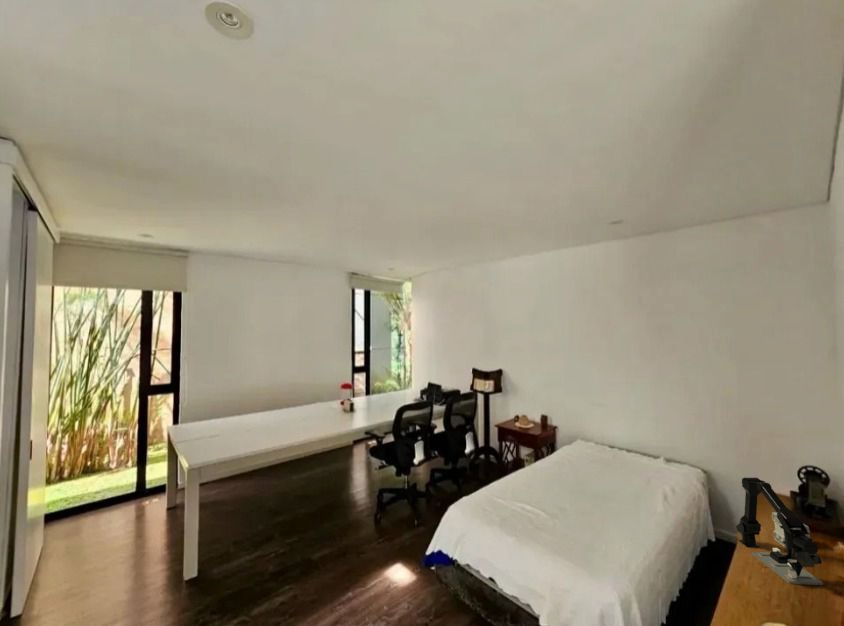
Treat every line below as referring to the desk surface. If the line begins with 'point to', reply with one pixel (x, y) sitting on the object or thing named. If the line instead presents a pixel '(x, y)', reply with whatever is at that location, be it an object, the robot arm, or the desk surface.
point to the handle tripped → (791, 573)
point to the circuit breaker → (780, 531)
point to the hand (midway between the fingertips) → (797, 575)
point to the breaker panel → (782, 570)
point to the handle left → (776, 549)
